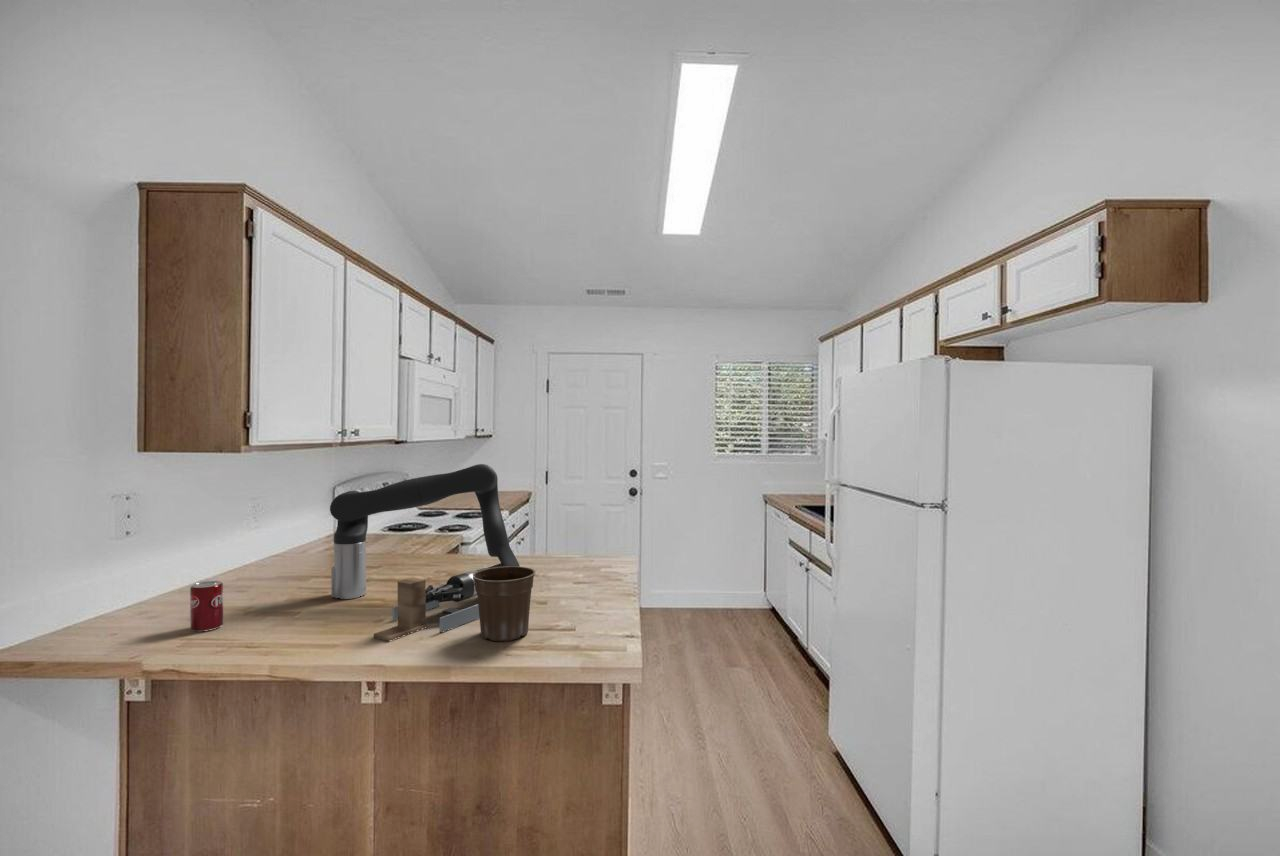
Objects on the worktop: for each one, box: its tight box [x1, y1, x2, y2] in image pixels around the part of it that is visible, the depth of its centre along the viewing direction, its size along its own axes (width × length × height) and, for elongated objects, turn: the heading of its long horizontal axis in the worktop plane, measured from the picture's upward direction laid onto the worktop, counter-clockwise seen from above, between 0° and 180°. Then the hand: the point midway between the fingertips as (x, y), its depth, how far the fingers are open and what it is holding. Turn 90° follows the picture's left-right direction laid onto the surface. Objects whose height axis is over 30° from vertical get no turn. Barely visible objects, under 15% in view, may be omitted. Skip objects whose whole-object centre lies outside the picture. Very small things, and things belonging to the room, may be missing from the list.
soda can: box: [189, 580, 224, 632], centre depth 166 cm, size 7×7×12 cm
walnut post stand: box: [373, 576, 428, 642], centre depth 162 cm, size 12×6×13 cm, turn 150°
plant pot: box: [472, 566, 536, 642], centre depth 162 cm, size 16×16×16 cm
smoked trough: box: [392, 601, 479, 633], centre depth 174 cm, size 16×19×4 cm
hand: (419, 600), depth 167 cm, fingers closed
